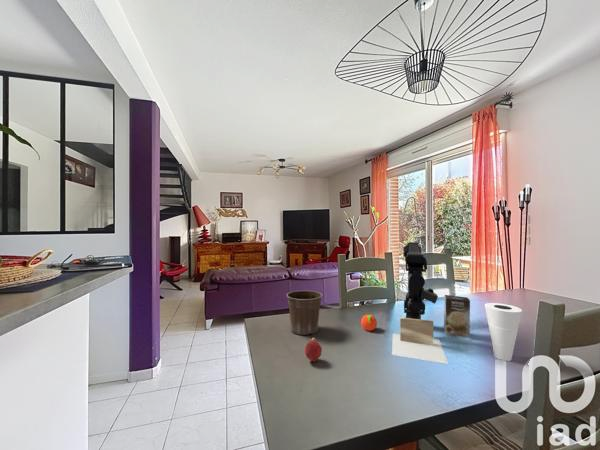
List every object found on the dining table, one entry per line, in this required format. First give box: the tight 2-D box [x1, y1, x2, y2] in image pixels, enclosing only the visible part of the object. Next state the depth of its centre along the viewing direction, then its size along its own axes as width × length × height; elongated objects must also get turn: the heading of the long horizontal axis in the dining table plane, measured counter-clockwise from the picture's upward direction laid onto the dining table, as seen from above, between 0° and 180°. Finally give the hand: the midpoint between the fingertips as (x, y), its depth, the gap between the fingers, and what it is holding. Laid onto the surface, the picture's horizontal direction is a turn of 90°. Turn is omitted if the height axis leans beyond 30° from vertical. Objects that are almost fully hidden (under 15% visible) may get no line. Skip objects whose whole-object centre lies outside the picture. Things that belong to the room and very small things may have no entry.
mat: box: [391, 333, 449, 365], centre depth 101 cm, size 20×18×1 cm
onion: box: [304, 337, 323, 362], centre depth 91 cm, size 6×6×8 cm
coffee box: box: [443, 294, 471, 339], centre depth 114 cm, size 9×6×16 cm
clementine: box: [360, 314, 378, 332], centre depth 118 cm, size 8×7×7 cm
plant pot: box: [286, 290, 323, 336], centre depth 119 cm, size 16×16×16 cm
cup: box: [484, 302, 523, 362], centre depth 94 cm, size 11×11×18 cm
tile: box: [399, 316, 434, 345], centre depth 105 cm, size 2×12×9 cm, turn 70°
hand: (415, 320), depth 111 cm, fingers closed
